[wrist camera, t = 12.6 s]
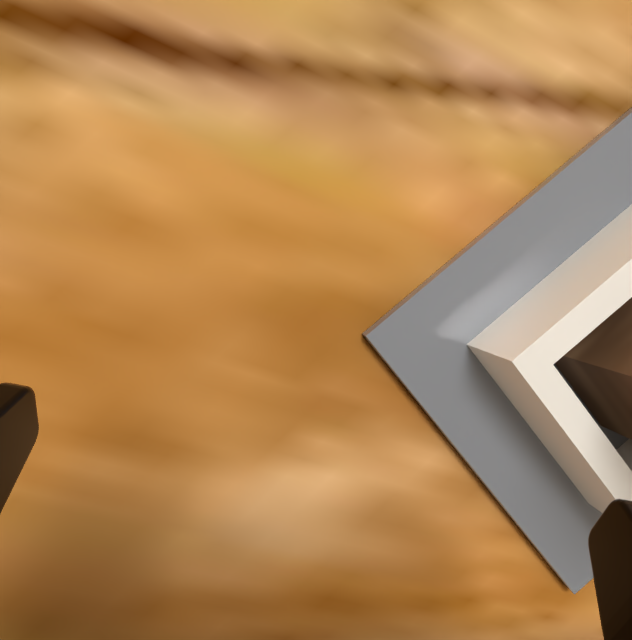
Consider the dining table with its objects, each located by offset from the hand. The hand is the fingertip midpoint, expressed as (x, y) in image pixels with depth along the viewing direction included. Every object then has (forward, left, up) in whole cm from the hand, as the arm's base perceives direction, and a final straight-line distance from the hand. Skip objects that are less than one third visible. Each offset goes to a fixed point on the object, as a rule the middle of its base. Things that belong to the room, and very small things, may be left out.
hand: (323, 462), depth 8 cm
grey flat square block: (+5, -12, -12) cm, 18 cm away
